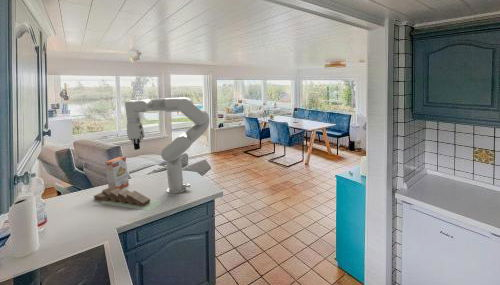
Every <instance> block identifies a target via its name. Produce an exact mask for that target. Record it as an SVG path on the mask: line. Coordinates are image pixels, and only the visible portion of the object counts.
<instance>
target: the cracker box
mask: <svg viewBox="0 0 500 285" xmlns="http://www.w3.org/2000/svg"><path fill="white" fill-rule="evenodd" d="M126 158H127V157H126V156H117V157H114V158H113V159H112V158H111V159H110V160H108V161H105V170H106V177H107V185H108V187H107V188H109V187H112V188H113V189H117V188H119V189H120V190H122V189H124V188H126V187H127V186H130V183H129V175H128V167H127V159H126Z"/></svg>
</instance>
